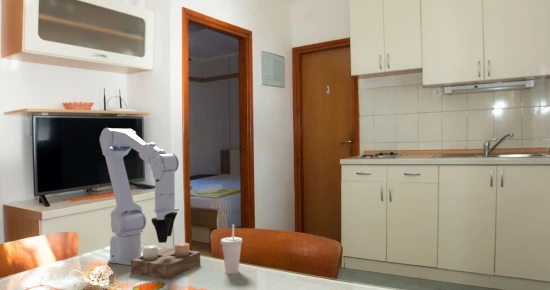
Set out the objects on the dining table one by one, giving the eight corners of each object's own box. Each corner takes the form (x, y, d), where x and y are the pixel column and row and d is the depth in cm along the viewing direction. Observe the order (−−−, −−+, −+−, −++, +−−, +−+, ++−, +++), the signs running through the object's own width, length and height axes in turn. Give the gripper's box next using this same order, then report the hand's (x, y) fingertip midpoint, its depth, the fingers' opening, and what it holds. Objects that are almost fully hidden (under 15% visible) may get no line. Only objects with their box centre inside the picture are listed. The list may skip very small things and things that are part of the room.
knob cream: (139, 259, 116) (139, 248, 116) (150, 255, 120) (150, 244, 120) (151, 261, 114) (151, 249, 114) (161, 257, 118) (161, 246, 118)
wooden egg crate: (130, 273, 115) (130, 260, 115) (165, 259, 128) (164, 247, 128) (168, 279, 109) (168, 265, 109) (200, 264, 122) (200, 251, 122)
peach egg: (171, 256, 119) (171, 245, 119) (180, 253, 123) (180, 242, 123) (183, 258, 117) (183, 247, 117) (192, 254, 121) (192, 243, 121)
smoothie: (239, 276, 111) (238, 227, 111) (217, 275, 112) (217, 226, 112) (245, 269, 117) (244, 222, 117) (225, 268, 119) (224, 222, 119)
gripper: (174, 197, 110) (174, 245, 110) (182, 190, 124) (182, 233, 124) (148, 197, 109) (149, 245, 109) (159, 191, 124) (159, 233, 124)
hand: (165, 239), depth 117 cm, fingers open, 7 cm apart
